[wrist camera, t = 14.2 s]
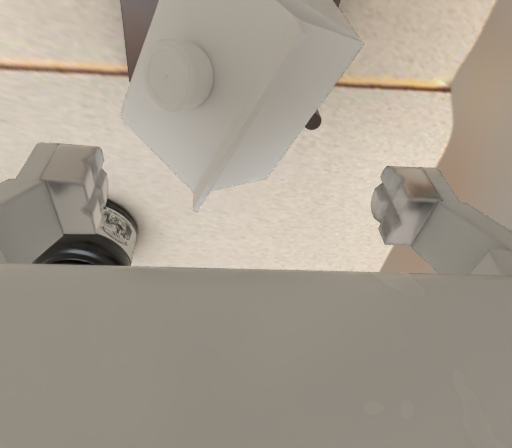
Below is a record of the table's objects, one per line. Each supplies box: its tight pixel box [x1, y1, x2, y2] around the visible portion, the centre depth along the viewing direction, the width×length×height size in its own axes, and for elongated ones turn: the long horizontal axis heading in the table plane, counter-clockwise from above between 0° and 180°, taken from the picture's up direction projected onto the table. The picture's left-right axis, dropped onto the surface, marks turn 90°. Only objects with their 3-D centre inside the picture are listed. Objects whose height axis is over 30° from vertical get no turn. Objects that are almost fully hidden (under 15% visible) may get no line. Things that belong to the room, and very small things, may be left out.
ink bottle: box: [31, 201, 137, 266], centre depth 38 cm, size 10×9×12 cm
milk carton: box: [121, 0, 364, 212], centre depth 19 cm, size 7×7×19 cm
